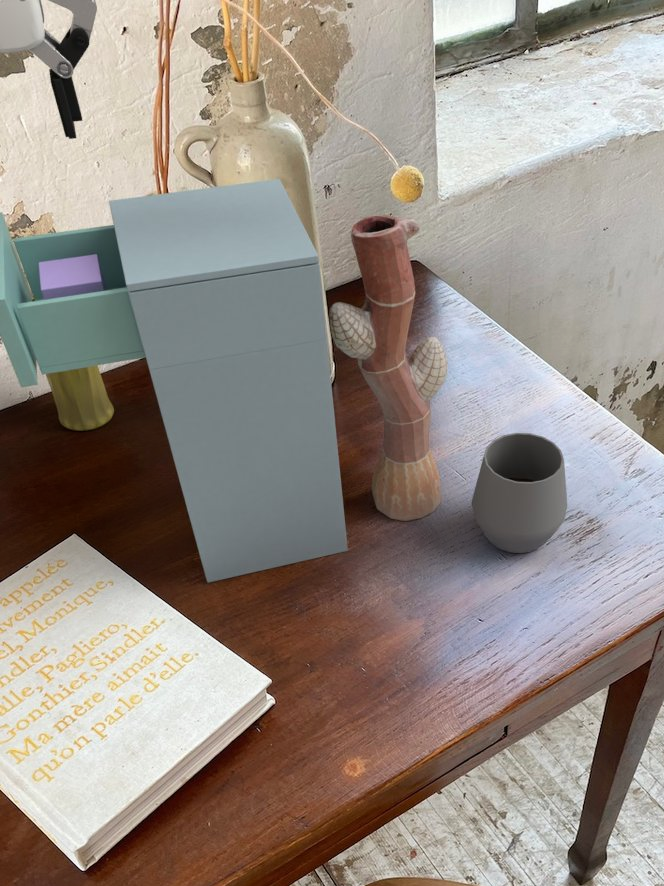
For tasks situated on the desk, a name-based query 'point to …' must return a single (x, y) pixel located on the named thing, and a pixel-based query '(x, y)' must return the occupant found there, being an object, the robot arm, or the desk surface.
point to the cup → (520, 492)
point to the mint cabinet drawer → (64, 306)
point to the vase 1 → (80, 398)
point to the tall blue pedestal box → (238, 369)
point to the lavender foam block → (71, 277)
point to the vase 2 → (393, 366)
